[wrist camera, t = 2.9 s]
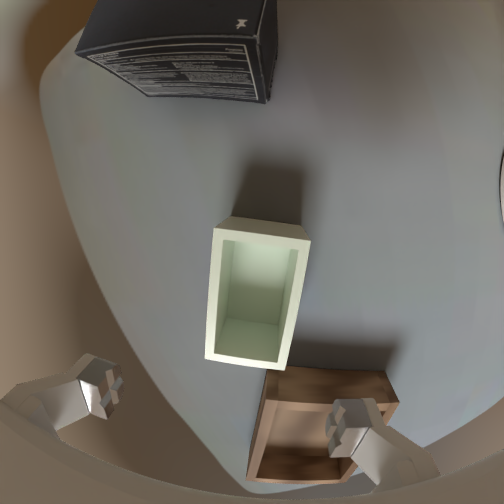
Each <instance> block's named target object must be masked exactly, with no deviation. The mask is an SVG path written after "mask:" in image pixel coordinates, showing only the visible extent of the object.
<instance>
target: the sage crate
mask: <svg viewBox="0 0 504 504" xmlns="http://www.w3.org/2000/svg"><path fill="white" fill-rule="evenodd" d="M310 243H311V240H310V239H309V237H308V236H307V234H306V232H305V231H304V229H303V228H302V226H301V225H294V224H287V223H279V222H272V221H265V220H257V219H250V218H242V217H234V216H230V217H229V218H227V219H226V220H224V221H223V222H222V223H220V224H219V225H217V226H216V227H214V232H213V243H212V255H211V267H210V280H209V294H208V309H207V325H206V344H205V359H209V360H215V361H220V362H226V363H232V364H238V365H245V366H252V367H259V368H267V369H275V370H284V371H285V367H286V363H287V358H288V354H289V350H290V345H291V341H292V336H293V332H294V327H295V322H296V318H297V313H298V308H299V303H300V298H301V293H302V288H303V282H304V277H305V272H306V266H307V260H308V255H309V249H310Z"/></svg>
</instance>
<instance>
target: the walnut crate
mask: <svg viewBox="0 0 504 504" xmlns="http://www.w3.org/2000/svg"><path fill="white" fill-rule="evenodd" d="M361 398H373V399H375V401H376V404H377V406H378V408H379V411H380V413H381V415H382V418H383V420H384V423H385V425H387V423H388V422H389V420H390V418H391V417H392V415H393V413H394V412H395V410H396V408H397V406H398V405H399V403H400V402H399V400H398V398H397V396H396V394H395V392H394V390H393V387H392V385H391V383H390V381H389V379H388V377H387V375H386V373H385V371H360V370H335V369H319V368H306V367H295V366H286V367H285V371H284V370H275V369H267V371H266V376H265V381H264V386H263V391H262V396H261V401H260V405H259V410H258V415H257V419H256V424H255V428H254V433H253V437H252V442H251V446H250V451H249V459H248V467H247V474H246V480H247V481H256V482H268V483H284V484H329V483H344V482H346V481H347V480H348V478H349V477H350V476H351V475H352V473H353V472H354V471H355V469H356V468H357V467H358V465H357V464H356V463H355V462H354V461H353V460H352V459H351V457H330V455H329V450H328V443H329V441H330V439H329V438H328V437H327V436H326V433H325V424H326V419H327V417H328V414H329V413H331V412H332V411H333V409H332V405H333V403H334V401H335V400H336V399H361Z"/></svg>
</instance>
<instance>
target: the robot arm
mask: <svg viewBox="0 0 504 504" xmlns="http://www.w3.org/2000/svg"><path fill="white" fill-rule="evenodd" d="M501 208H502V215H503V221H504V158H503V163H502V170H501ZM121 373H122V372H121V367H120V366H119V365H118V364H116V363H113V362H110V361H107V360H104V359H102V358H99V357H95V356H93V355H91V354H84V355H83V356H82V357H81V358H80V359H79V360H78V361H77V362H76V363H75V364H74V365H73V366H72V367H71V368H70V369H69V371H68V372H66V374H64V373H59V374H55V375H52V376H48V377H44V378H41V379H37V380H33V381H29V382H25V383H21V384H17V385H16V386H15V387H14V388H13V389H12V390H11V391H10V392H9V393H7V394H6V395H5V396H4V397H3V398H2V399H1V400H0V504H504V449H502V450H500V451H498V452H496V453H494V454H492V455H490V456H488V457H486V458H484V459H482V460H479V461H477V462H475V463H473V464H470V465H468V466H466V467H463V468H461V469H458V470H456V471H453V472H450V473H447V474H445V475H442V476H441V475H440V472H439V470H438V468H437V466H436V464H435V462H434V460H433V457H432V455H431V454H430V453H429V452H427V451H426V450H424V449H423V448H421V447H420V446H418V445H417V444H415V443H414V442H412V441H411V440H409V439H408V438H406V437H405V436H403V435H402V434H400V433H399V432H397V431H396V430H395V429H393V428H392V427H390V426H386V425H385V423H384V420H383V418H382V415H381V413H380V411H379V408H378V406H377V404H376V401H375V399H373V398H361V399H336V400H335V401H334V403H333V405H332V409H333V411H332V412H331V413H329V414H328V417H327V419H326V424H325V433H326V436H327V437H328V438H329V439H330V441H329V443H328V450H329V455H330V457H351V459H352V460H353V461H354V462H355V463H356V464H357V465H358V466H359V467H360V468H361V469H362V470H363V471H364V472H365V473H366V474H367V475H368V476H369V477H370V479H372V481H373V482H375V484H376V485H377V486H376V487H375V488H374V489H373V491H372V492H371V493H370V494H363V495H356V496H349V497H339V498H327V499H305V500H284V499H283V500H282V499H281V500H280V499H261V498H249V497H239V496H231V495H224V494H217V493H211V492H206V491H200V490H195V489H191V488H186V487H181V486H177V485H174V484H170V483H166V482H162V481H159V480H155V479H152V478H149V477H146V476H142V475H140V474H136V473H134V472H131V471H128V470H125V469H123V468H120V467H117V466H115V465H112V464H110V463H108V462H105V461H102V460H100V459H98V458H96V457H93V456H92V455H89V454H87V453H85V452H83V451H81V450H79V449H77V448H75V447H73V446H71V445H69V444H67V443H66V442H64V441H62V440H60V438H59V436H58V434H57V432H56V430H58V429H60V428H62V427H64V426H66V425H68V424H71V423H72V422H74V421H77V420H79V419H81V418H83V417H85V416H87V415H88V414H89V413H91V414H93V415H96V416H98V417H101V418H104V419H108V418H109V417H110V415H111V414H112V412H113V411H114V406H113V404H116V403H118V402H119V401H120V400H121V398H122V395H123V392H124V383H123V380H122V379H121V378H120V374H121Z"/></svg>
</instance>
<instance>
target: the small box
mask: <svg viewBox="0 0 504 504" xmlns="http://www.w3.org/2000/svg"><path fill="white" fill-rule="evenodd" d="M277 47H278V33H277V0H98V1H97V3H96V5H95V8H94V9H93V11H92V13H91V15H90V18H89V20H88V22H87V24H86V26H85V29H84V31H83V33H82V36H81V38H80V40H79V43H78V45H77V48H76V50H75V54H76V55H78V56H80V57H82V58H85V59H87V60H89V61H91V62H93V63H95V64H97V65H99V66H100V67H102V68H104V69H106V70H108V71H109V72H110V73H112V74H114V75H116V76H117V77H119V78H120V79H122V80H124V81H125V82H127V83H128V84H130V85H131V86H133V87H134V88H136V89H137V90H139V91H140V92H142V93H143V94H145V95H146V96H147V97H195V98H212V99H225V100H236V101H246V102H255V103H263V104H266V103H267V102H268V101H269V100H270V99H269V98H270V88H271V82H272V77H273V70H274V65H275V61H276V59H277Z"/></svg>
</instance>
